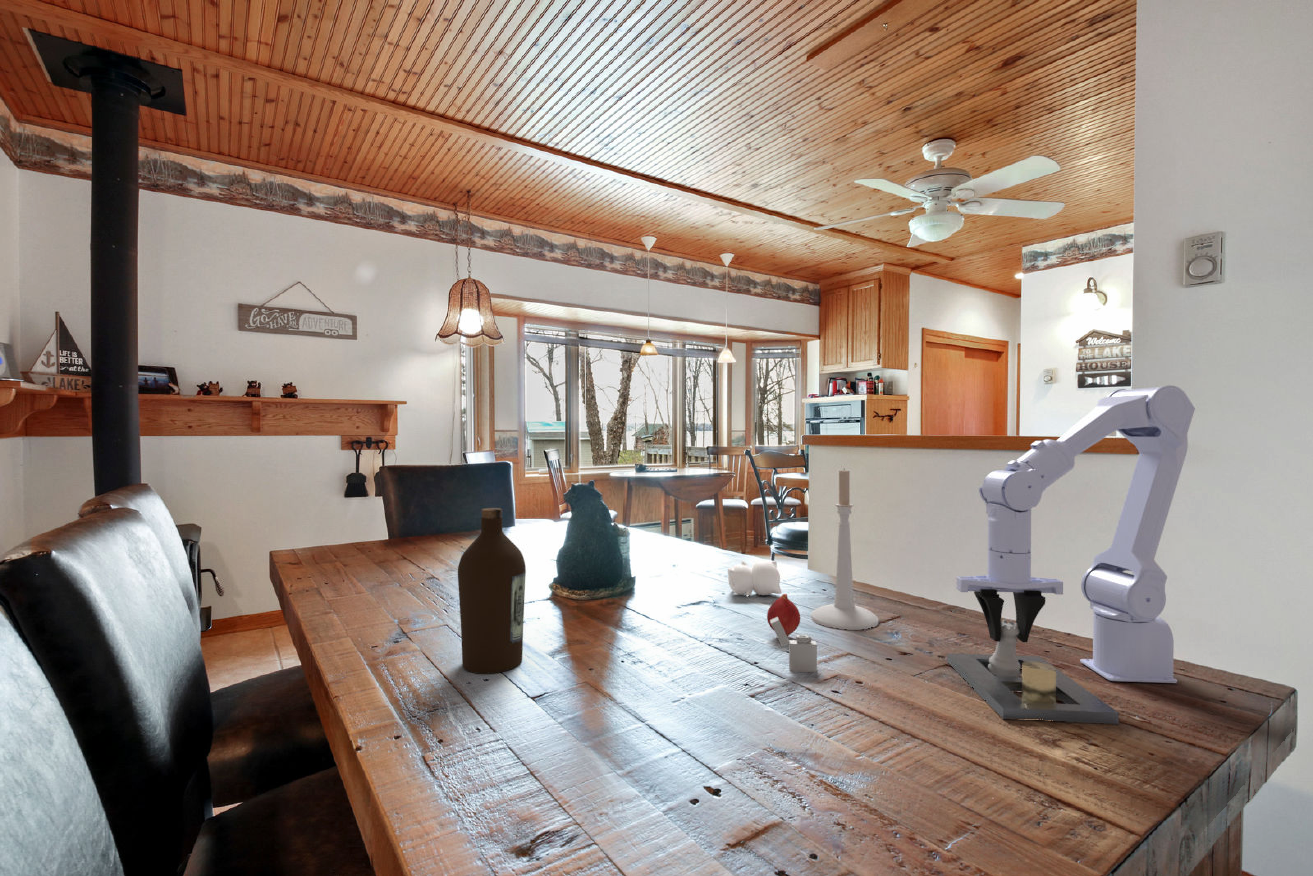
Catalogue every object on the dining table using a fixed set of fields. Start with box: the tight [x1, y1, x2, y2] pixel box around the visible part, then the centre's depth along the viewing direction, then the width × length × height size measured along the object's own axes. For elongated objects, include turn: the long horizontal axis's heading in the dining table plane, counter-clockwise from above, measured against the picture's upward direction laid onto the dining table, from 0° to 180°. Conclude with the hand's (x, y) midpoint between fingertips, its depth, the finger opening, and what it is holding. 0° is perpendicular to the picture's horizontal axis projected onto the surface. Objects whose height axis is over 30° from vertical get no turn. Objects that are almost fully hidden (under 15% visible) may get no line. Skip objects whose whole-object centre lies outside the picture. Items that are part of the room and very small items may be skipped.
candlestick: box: [810, 468, 880, 631], centre depth 124 cm, size 13×13×30 cm
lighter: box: [770, 617, 818, 673], centre depth 99 cm, size 7×2×8 cm, turn 84°
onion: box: [766, 593, 801, 638], centre depth 113 cm, size 6×6×8 cm
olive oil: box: [457, 507, 527, 675], centre depth 101 cm, size 11×11×25 cm
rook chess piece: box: [987, 619, 1022, 677], centre depth 95 cm, size 4×4×8 cm
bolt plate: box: [946, 652, 1120, 725], centre depth 90 cm, size 14×20×5 cm
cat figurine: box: [727, 560, 782, 597], centre depth 144 cm, size 9×11×12 cm
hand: (1008, 639), depth 95 cm, fingers closed on rook chess piece, 3 cm apart
